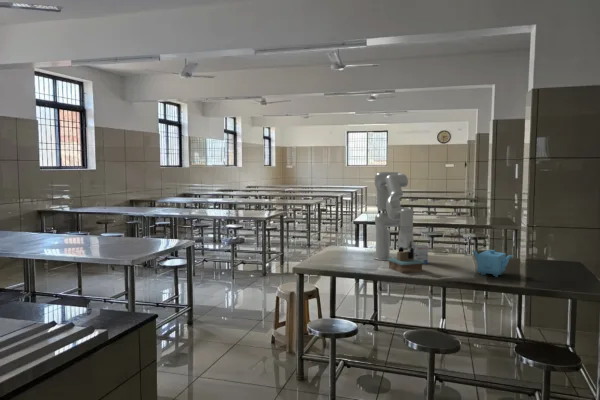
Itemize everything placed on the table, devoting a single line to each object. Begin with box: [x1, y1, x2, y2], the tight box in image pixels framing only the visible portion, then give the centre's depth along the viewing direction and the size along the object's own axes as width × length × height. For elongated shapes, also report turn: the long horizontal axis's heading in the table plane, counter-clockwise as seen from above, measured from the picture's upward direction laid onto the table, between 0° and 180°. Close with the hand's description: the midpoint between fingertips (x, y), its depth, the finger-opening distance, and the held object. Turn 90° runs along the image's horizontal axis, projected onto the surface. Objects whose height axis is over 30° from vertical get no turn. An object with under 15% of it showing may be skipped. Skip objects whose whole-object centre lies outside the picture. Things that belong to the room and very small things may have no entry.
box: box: [388, 261, 423, 274], centre depth 281 cm, size 14×14×6 cm
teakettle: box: [470, 249, 514, 278], centre depth 274 cm, size 19×19×15 cm
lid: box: [386, 250, 425, 265], centre depth 280 cm, size 16×16×6 cm
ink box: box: [414, 244, 429, 265], centre depth 304 cm, size 9×5×12 cm, turn 106°
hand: (405, 257), depth 280 cm, fingers open, 9 cm apart
